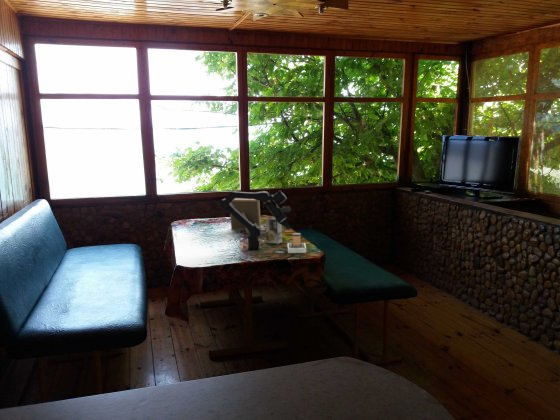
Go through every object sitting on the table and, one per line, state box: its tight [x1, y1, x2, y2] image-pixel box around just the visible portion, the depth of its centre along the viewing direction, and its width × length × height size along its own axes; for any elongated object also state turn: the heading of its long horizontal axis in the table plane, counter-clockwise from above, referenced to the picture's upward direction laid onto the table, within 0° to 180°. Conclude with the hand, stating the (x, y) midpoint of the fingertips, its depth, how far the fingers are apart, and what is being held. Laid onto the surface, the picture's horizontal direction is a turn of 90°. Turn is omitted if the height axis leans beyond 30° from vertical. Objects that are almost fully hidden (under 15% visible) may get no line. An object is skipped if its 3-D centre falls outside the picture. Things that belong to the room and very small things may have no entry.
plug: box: [292, 232, 301, 246], centre depth 259 cm, size 5×5×10 cm
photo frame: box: [229, 198, 262, 234], centre depth 310 cm, size 15×22×25 cm
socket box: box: [287, 242, 307, 254], centre depth 260 cm, size 11×12×4 cm
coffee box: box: [265, 216, 283, 245], centre depth 278 cm, size 9×6×16 cm
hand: (289, 228), depth 260 cm, fingers open, 9 cm apart
